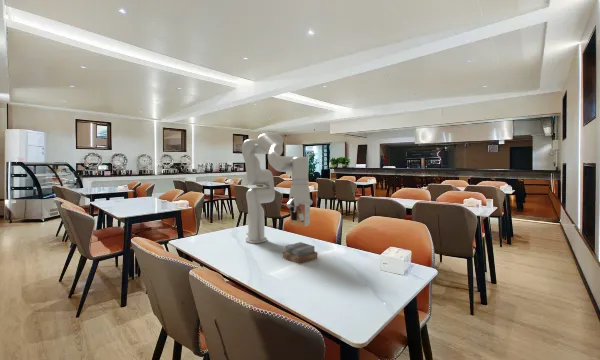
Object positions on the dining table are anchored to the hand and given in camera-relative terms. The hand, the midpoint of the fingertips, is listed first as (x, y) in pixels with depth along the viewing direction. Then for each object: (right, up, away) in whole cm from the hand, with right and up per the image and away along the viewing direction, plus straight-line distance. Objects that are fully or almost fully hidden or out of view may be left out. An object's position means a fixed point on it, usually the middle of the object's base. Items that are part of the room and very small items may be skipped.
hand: (300, 218), depth 142 cm
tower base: (0, -19, +1) cm, 19 cm away
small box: (0, -3, 0) cm, 3 cm away
